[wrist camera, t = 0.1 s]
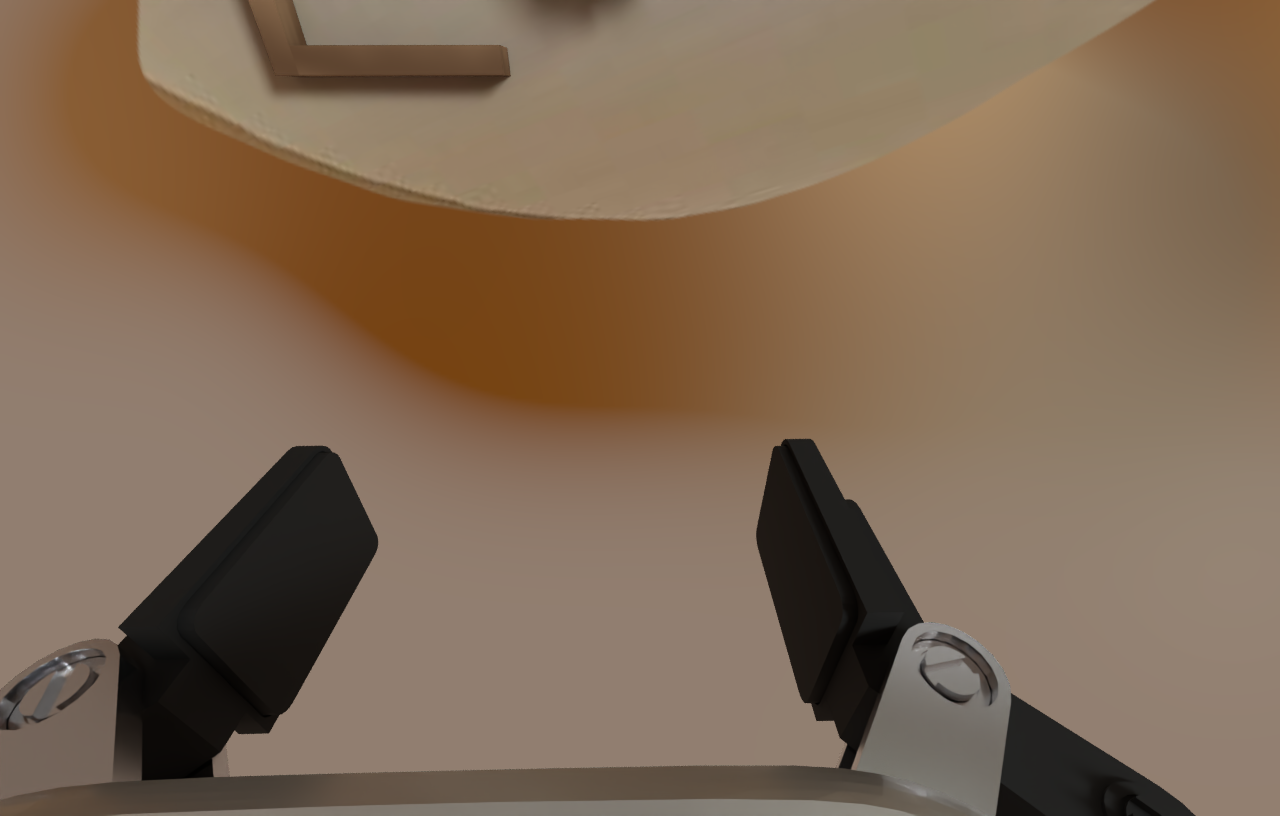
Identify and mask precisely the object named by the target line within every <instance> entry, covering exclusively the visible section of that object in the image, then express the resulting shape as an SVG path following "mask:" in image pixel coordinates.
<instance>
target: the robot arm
mask: <svg viewBox="0 0 1280 816" xmlns="http://www.w3.org/2000/svg"><path fill="white" fill-rule="evenodd" d="M756 538H757V545H758V550H759V553H760V557H761V560H762V563H763V567H764V571H765V574H766V577H767V581H768V585H769V588H770V591H771V595H772V599H773V602H774V606H775V609H776V613H777V616H778V620H779V623H780V627H781V630H782V634H783V637H784V641H785V644H786V647H787V651H788V655H789V658H790V662H791V666H792V669H793V673H794V676H795V680H796V683H797V687H798V690H799V693H800V696H801V698H802V700H803V701H804V703H811V704H812V707H813V711H814V714H815V717H816V720H817V721H834V722H835V724H836V728H837V731H838V734H839V737H840V738H841V739H842V740H843V741H844V742H845V744H844V747H843V750H842V752H841V755H840V757H839V760H838V763H837V766H836V768H826V767H808V766H658V767H657V766H653V767H604V768H603V767H602V768H548V769H505V770H465V771H464V770H463V771H424V772H423V771H421V772H383V773H382V772H381V773H344V774H312V775H311V774H309V775H274V776H240V777H230V776H229V768H228V758H227V749H226V743H227V741H228V740H229V738H230V736H231V735H232V733H233V732H234V730H235V731H236V732H237V733H238V734H262V733H269V732H270V730H271V729H272V727H273V725H274V723H275V722H276V720H277V718H278V716H279V715H280V714H283V713H284V712H286V711H287V710H288V708H289V707H290V706H291V704H292V703H293V701H294V699H295V697H296V696H297V694H298V692H299V690H300V689H301V687H302V685H303V683H304V681H305V679H306V678H307V676H308V674H309V672H310V670H311V669H312V667H313V665H314V663H315V661H316V660H317V658H318V656H319V654H320V653H321V651H322V649H323V647H324V645H325V643H326V642H327V640H328V638H329V636H330V634H331V633H332V631H333V629H334V627H335V625H336V624H337V622H338V620H339V618H340V616H341V615H342V613H343V611H344V609H345V607H346V606H347V604H348V602H349V600H350V598H351V597H352V595H353V593H354V591H355V589H356V587H357V586H358V584H359V582H360V580H361V579H362V577H363V575H364V573H365V571H366V570H367V568H368V566H369V564H370V562H371V561H372V559H373V557H374V555H375V553H376V551H377V547H378V537H377V534H376V533H375V531H374V528H373V526H372V524H371V522H370V520H369V518H368V516H367V514H366V512H365V509H364V507H363V505H362V503H361V501H360V499H359V497H358V495H357V493H356V491H355V489H354V486H353V484H352V482H351V480H350V478H349V476H348V474H347V472H346V470H345V468H344V466H343V464H342V461H341V459H340V457H339V456H338V455H337V454H335V453H332V451H331V450H330V449H329V448H328V447H326V446H296V447H292V448H291V449H290V450H288V451H287V452H286V453H285V454H284V455H283V456H282V458H281V459H280V460H279V461H278V462H277V463H276V464H275V465H274V466H273V467H272V468H271V469H270V470H269V471H268V472H267V473H266V474H265V475H264V476H263V477H262V478H261V479H260V480H259V481H258V482H257V484H256V485H255V486H254V487H253V488H252V489H251V490H250V491H249V492H248V493H247V494H246V495H245V496H244V497H243V498H242V499H241V500H240V501H239V502H238V503H237V505H235V506H234V507H233V509H231V510H230V512H229V513H228V514H227V515H226V516H225V517H224V518H223V519H222V520H221V521H220V522H219V523H218V524H217V525H216V526H215V527H214V528H213V529H212V530H211V531H210V532H209V533H208V534H207V535H206V536H205V538H204V539H203V540H202V541H201V542H200V543H199V544H198V545H197V546H196V547H195V548H194V549H193V550H192V551H191V552H190V553H189V554H188V555H187V556H186V557H185V558H184V559H183V560H182V562H180V564H179V565H178V566H177V567H176V568H175V569H174V570H173V571H172V572H171V573H170V574H169V575H168V576H167V577H166V578H165V579H164V580H163V581H162V582H161V583H160V584H159V585H158V586H157V587H156V588H155V589H154V591H153V592H152V593H151V594H150V595H149V596H148V597H147V598H146V599H145V600H144V601H143V602H142V603H141V604H140V605H139V606H138V607H137V608H136V609H135V610H134V611H133V612H132V613H131V614H130V616H128V618H127V619H126V620H125V621H124V622H123V623H122V624H121V625H120V626H119V627H118V628H119V629H121V630H122V631H123V632H124V633H125V634H126V635H127V636H126V637H125V638H124V639H123V640H122V641H121V642H120V644H119V645H117V644H115V643H114V642H112V641H111V640H107V639H92V640H87V641H82V642H78V643H75V644H73V645H70V646H68V647H65V648H62V649H59V650H57V651H55V652H54V653H52V654H50V655H48V656H46V657H44V658H42V659H40V660H38V661H37V662H36V663H34V664H33V665H31V666H30V667H28V668H27V669H25V670H24V671H22V672H21V673H19V674H18V675H17V676H15V677H14V678H13V679H12V680H11V681H10V682H9V683H8V684H6V685H5V686H4V687H3V688H2V689H1V690H0V816H1195V815H1194V814H1193V813H1192V812H1191V811H1190V810H1189V809H1188V808H1187V807H1186V806H1185V805H1184V804H1183V803H1181V802H1180V801H1179V800H1177V799H1176V798H1174V797H1173V796H1172V795H1170V794H1169V793H1168V792H1166V791H1165V790H1164V789H1162V788H1161V787H1160V786H1158V785H1156V784H1155V783H1153V782H1152V781H1150V780H1148V779H1147V778H1145V777H1144V776H1142V775H1140V774H1139V773H1137V772H1136V771H1134V770H1133V769H1131V768H1129V767H1128V766H1126V765H1125V764H1123V763H1121V762H1119V761H1118V760H1117V759H1115V758H1113V757H1112V756H1110V755H1108V754H1107V753H1105V752H1104V751H1102V750H1101V749H1099V748H1097V747H1096V746H1094V745H1093V744H1091V743H1089V742H1088V741H1086V740H1084V739H1083V738H1082V737H1080V736H1078V735H1077V734H1075V733H1073V732H1072V731H1070V730H1069V729H1067V728H1065V727H1064V726H1062V725H1061V724H1059V723H1058V722H1056V721H1054V720H1053V719H1051V718H1049V717H1048V716H1046V715H1045V714H1043V713H1042V712H1040V711H1039V710H1037V709H1035V708H1034V707H1032V706H1031V705H1029V704H1027V703H1026V702H1024V701H1022V700H1021V699H1019V698H1018V697H1016V696H1015V695H1013V694H1011V691H1010V685H1009V682H1008V679H1007V677H1006V675H1005V672H1004V670H1003V669H1002V667H1001V666H1000V665H999V663H998V662H997V661H996V659H995V658H994V656H993V655H992V654H991V653H990V652H989V651H988V650H986V648H984V647H983V646H982V645H981V644H980V643H979V642H978V641H976V640H975V639H973V638H972V637H970V636H968V635H967V634H965V633H964V632H962V631H959V630H957V629H955V628H953V627H950V626H948V625H944V624H938V623H933V622H929V623H924V622H923V620H922V618H921V617H920V615H919V613H918V611H917V609H916V608H915V606H914V604H913V602H912V600H911V599H910V597H909V595H908V594H907V592H906V590H905V588H904V586H903V584H902V583H901V581H900V579H899V577H898V575H897V574H896V572H895V570H894V568H893V566H892V565H891V563H890V561H889V559H888V558H887V556H886V554H885V553H884V551H883V549H882V547H881V545H880V543H879V542H878V540H877V538H876V536H875V534H874V533H873V531H872V529H871V527H870V525H869V524H868V522H867V520H866V518H865V516H864V515H863V513H862V511H861V509H860V508H859V506H858V505H857V504H856V503H855V502H854V501H853V500H845V499H844V497H843V495H842V493H841V492H840V490H839V488H838V486H837V484H836V482H835V480H834V478H833V477H832V475H831V473H830V471H829V469H828V467H827V465H826V463H825V462H824V460H823V458H822V456H821V454H820V452H819V450H818V449H817V446H816V445H815V443H814V441H813V440H811V439H785V440H784V441H783V442H782V444H781V446H775V447H774V448H773V451H772V457H771V461H770V466H769V471H768V476H767V481H766V486H765V491H764V496H763V500H762V506H761V510H760V516H759V520H758V525H757V531H756Z"/></svg>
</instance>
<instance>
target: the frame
mask: <svg viewBox="0 0 1280 816" xmlns="http://www.w3.org/2000/svg"><path fill="white" fill-rule="evenodd" d="M248 1H249V4H250V6H251V9H252V12H253V15H254V18H255V20H256V23H257V26H258V29H259V31H260V34H261V37H262V40H263V42H264V45H265V48H266V51H267V54H268V56H269V59H270V62H271V65H272V67H273V70H274V73H275V75H277V76H511V75H510V67H509V60H508V52H507V48H506V47H503V46H501V45H307V44H306V41H305V38H304V35H303V32H302V29H301V26H300V22H299V19H298V16H297V13H296V10H295V7H294V4H293V1H292V0H248Z"/></svg>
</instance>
